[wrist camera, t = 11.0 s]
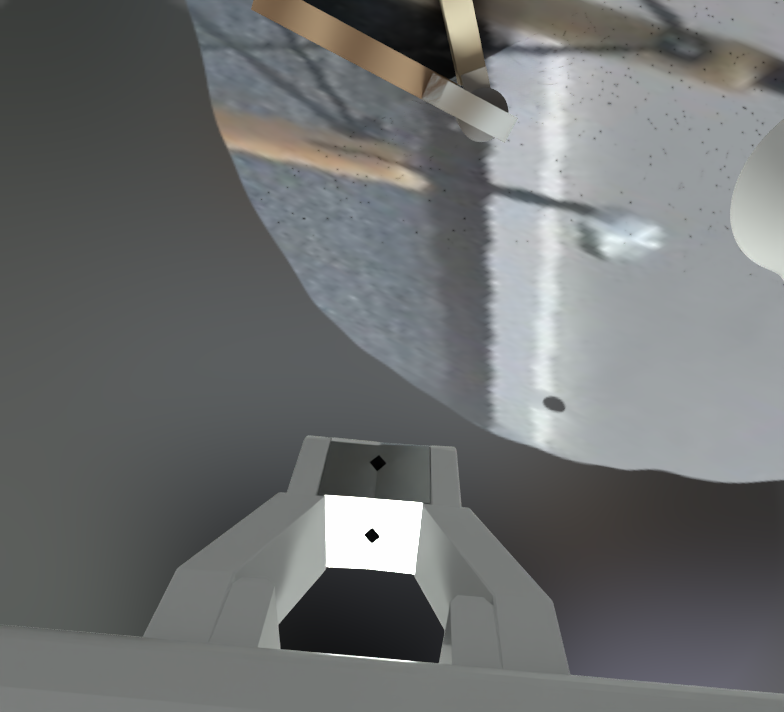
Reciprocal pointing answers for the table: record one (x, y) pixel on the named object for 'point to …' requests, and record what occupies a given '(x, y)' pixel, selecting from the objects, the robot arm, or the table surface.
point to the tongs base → (469, 59)
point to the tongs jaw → (387, 64)
